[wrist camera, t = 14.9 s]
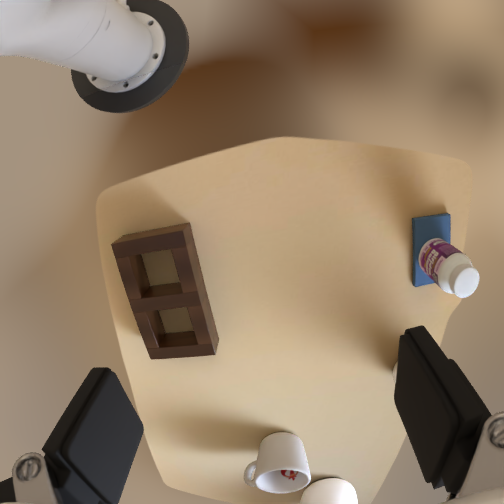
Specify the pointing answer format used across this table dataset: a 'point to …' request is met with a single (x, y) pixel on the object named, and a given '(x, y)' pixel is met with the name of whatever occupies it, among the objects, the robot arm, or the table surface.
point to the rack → (167, 292)
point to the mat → (424, 232)
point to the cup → (279, 465)
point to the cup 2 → (329, 492)
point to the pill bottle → (448, 267)
